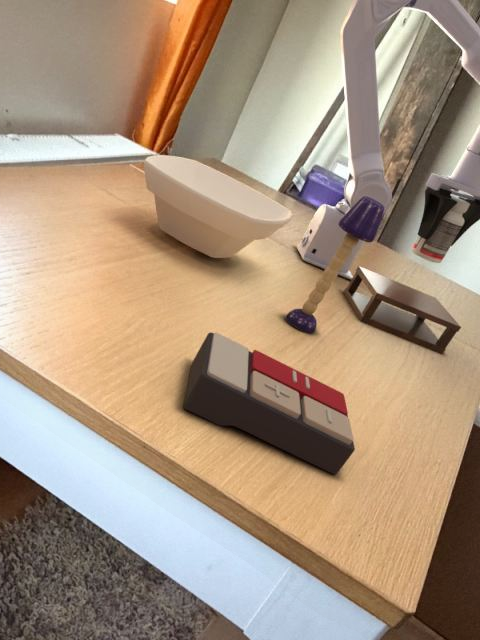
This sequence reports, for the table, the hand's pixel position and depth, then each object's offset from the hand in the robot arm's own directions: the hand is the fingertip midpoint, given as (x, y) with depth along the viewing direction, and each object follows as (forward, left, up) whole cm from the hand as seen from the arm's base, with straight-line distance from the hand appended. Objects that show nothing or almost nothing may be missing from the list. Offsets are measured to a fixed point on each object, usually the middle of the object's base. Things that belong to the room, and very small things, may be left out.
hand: (434, 240), depth 125 cm
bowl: (-40, -19, -11) cm, 45 cm away
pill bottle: (0, 0, -3) cm, 3 cm away
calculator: (-36, -68, -11) cm, 77 cm away
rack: (-7, -18, -10) cm, 22 cm away
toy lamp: (-26, -37, -11) cm, 46 cm away
